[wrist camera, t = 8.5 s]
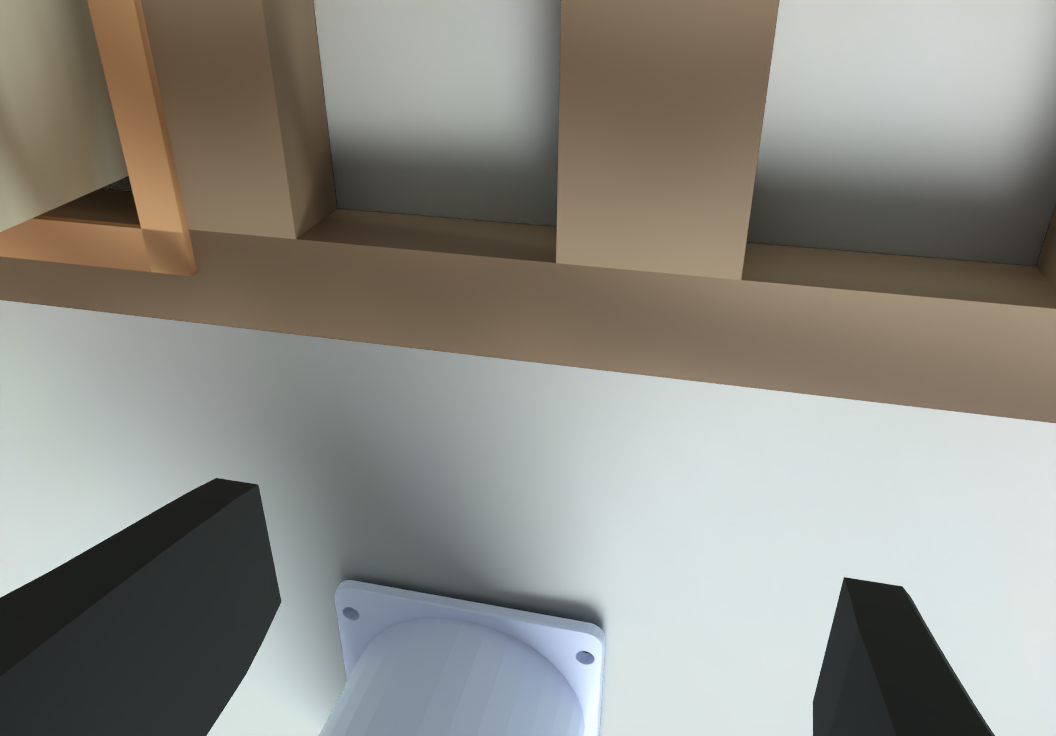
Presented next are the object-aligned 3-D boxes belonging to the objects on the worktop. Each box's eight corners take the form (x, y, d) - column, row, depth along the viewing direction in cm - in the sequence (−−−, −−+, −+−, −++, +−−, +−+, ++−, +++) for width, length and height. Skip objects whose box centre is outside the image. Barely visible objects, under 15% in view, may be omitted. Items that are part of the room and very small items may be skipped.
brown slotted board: (1182, 387, 16) (1236, 450, 15) (-74, 254, 23) (-149, 286, 21) (1459, -232, 12) (1594, -258, 10) (-240, -190, 18) (-358, -200, 16)
